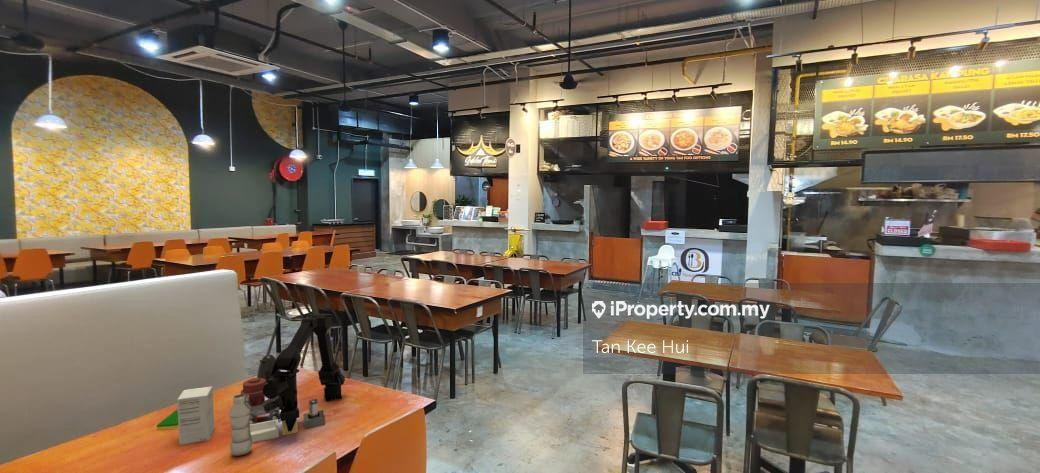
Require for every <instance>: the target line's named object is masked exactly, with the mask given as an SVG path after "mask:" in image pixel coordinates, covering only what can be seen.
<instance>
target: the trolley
mask: <svg viewBox="0 0 1040 473" xmlns="http://www.w3.org/2000/svg"><path fill="white" fill-rule="evenodd" d="M246 403H248V404H249V395H247V397H246ZM251 409H252V410H251V419H250V424H256V423H258V419H257V417H258V416H259V417H260V416H263V415H268V414H269V415H268V421H271V420H276V419H278V422H280V412H281V410H280V408H279V407H278V408H276V409H274V410H272V411H270V412H269V413H266V411H264V408H263V404H262V405H257V406H251Z"/></svg>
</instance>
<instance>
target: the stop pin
mask: <svg viewBox="0 0 1040 473" xmlns="http://www.w3.org/2000/svg"><path fill="white" fill-rule="evenodd" d="M318 403H319V401H318V399H317V398H313V399H312V398H311V399H310V400H308V406H309V407H308V408H309V409H308V410H309V412H308V413H309V414H310V419H311V418H316V417H318V411H319V408H318V407H319V406H318Z"/></svg>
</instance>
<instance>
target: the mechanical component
mask: <svg viewBox="0 0 1040 473" xmlns="http://www.w3.org/2000/svg"><path fill="white" fill-rule="evenodd" d="M265 384H266V380H265V379H263V378H257V377H251V378H250V379H248V380H246V381H244V382H243V383H242V389H241V391H240V394H245V395H246V397H247V395H249V405H250V407H251V406H257V405H262V404H263V402H264V401H265V399H266V397H265V396H264V394H263V387H264V385H265Z"/></svg>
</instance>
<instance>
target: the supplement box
mask: <svg viewBox="0 0 1040 473" xmlns="http://www.w3.org/2000/svg"><path fill="white" fill-rule="evenodd" d="M213 390H214V389H213V386H212V385H211V386H206V387H205V386H204V387H198V388H197V387H196V388H189V389H184V390H183V391H182V392H181V394H180V395H179V396H178V398H177V400H176V404H177V407H176V408H177V410H178V425H179V428H178V440H179V441H178V442H179V446H183V445H188V444H194V443H200V442H201V443H202V442H205V441H210V439H211V437H212V435H213V433H214V431H215V416H214V415H215V413H214V393H213Z"/></svg>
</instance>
